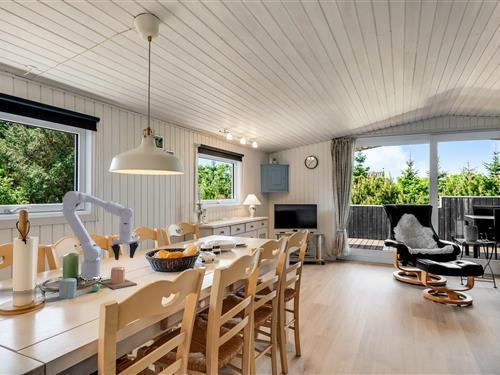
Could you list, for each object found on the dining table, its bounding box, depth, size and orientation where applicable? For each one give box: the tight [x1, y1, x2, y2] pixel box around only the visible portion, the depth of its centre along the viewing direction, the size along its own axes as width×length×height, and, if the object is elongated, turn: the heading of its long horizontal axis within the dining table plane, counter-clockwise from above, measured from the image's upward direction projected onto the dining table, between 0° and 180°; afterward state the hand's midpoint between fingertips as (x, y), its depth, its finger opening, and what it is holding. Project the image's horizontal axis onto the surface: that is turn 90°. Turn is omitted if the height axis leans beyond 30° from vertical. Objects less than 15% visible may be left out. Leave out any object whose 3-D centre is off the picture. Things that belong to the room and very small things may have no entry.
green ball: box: [91, 283, 101, 292], centre depth 134 cm, size 3×3×3 cm
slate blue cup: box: [58, 277, 78, 300], centre depth 126 cm, size 6×6×7 cm
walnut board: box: [99, 278, 138, 291], centre depth 146 cm, size 16×11×1 cm
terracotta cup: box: [110, 266, 126, 284], centre depth 146 cm, size 6×6×7 cm
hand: (124, 258), depth 157 cm, fingers open, 7 cm apart
